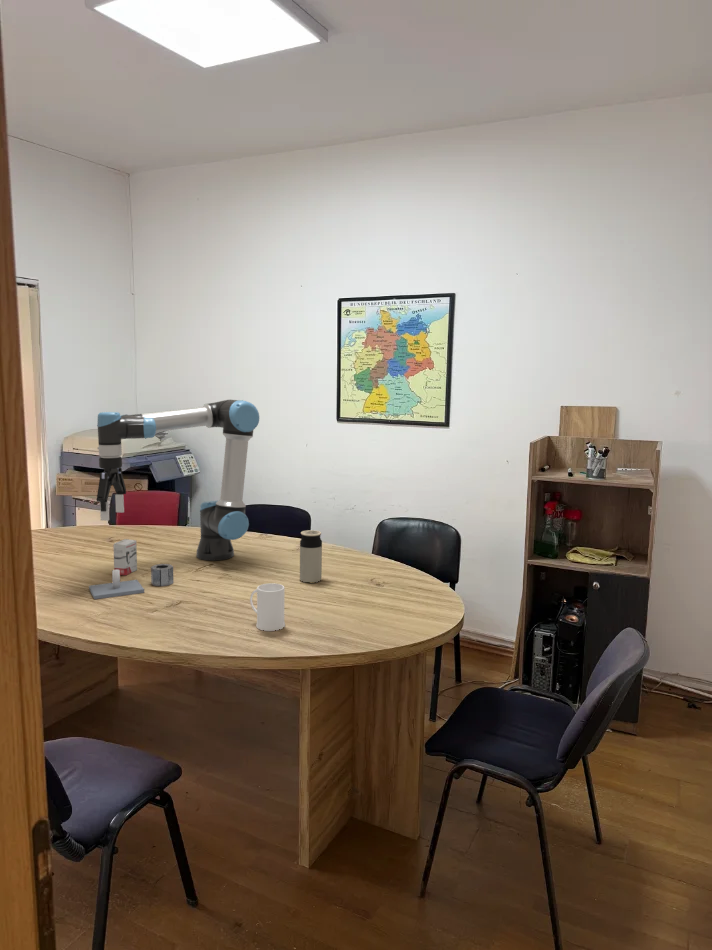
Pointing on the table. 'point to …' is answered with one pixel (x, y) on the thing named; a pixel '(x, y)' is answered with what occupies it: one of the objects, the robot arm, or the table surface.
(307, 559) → the travel mug
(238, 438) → the robot arm
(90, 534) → the table surface
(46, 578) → the table surface
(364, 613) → the table surface
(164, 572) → the cylinder
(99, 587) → the shaft stand
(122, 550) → the ink box
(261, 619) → the mug
